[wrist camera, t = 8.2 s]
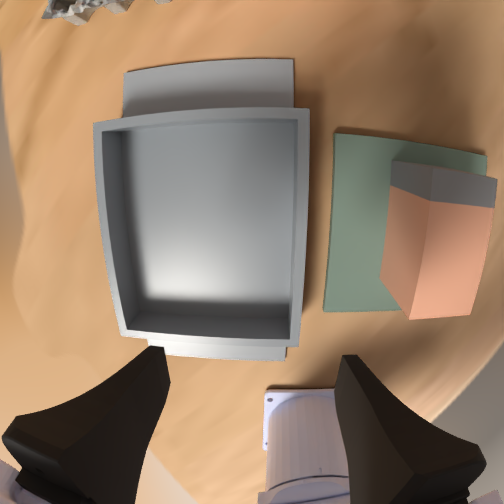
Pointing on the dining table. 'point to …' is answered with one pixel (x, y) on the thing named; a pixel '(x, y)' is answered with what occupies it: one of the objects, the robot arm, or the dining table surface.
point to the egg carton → (85, 8)
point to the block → (436, 238)
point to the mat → (371, 214)
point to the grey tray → (207, 208)
